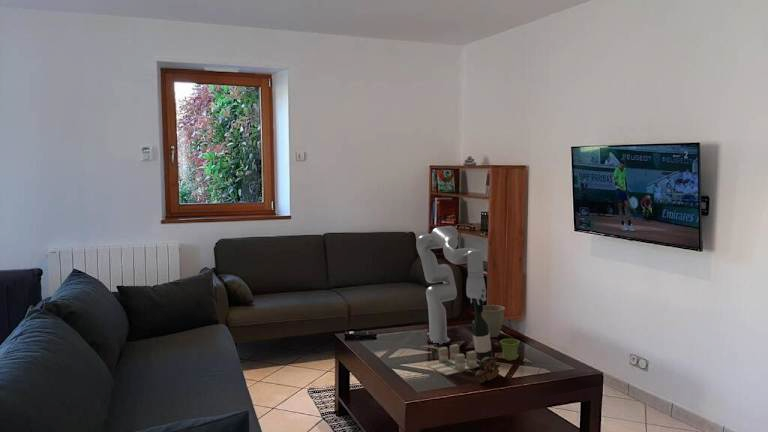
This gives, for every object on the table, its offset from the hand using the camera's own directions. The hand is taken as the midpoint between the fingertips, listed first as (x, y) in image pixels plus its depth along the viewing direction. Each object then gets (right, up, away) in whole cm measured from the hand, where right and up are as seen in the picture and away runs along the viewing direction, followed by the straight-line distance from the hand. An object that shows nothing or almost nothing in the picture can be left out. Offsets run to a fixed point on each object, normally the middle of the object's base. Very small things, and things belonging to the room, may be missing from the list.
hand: (477, 311), depth 286 cm
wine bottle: (+4, -24, +4) cm, 24 cm away
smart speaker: (+6, -23, +26) cm, 35 cm away
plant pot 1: (+15, -21, +42) cm, 50 cm away
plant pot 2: (+17, -24, +2) cm, 29 cm away
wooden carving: (+1, -27, -25) cm, 37 cm away
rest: (-12, -26, -6) cm, 29 cm away
